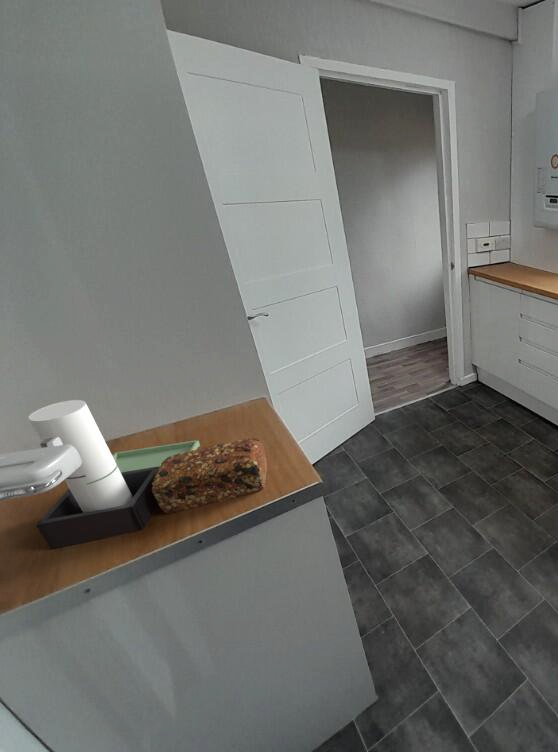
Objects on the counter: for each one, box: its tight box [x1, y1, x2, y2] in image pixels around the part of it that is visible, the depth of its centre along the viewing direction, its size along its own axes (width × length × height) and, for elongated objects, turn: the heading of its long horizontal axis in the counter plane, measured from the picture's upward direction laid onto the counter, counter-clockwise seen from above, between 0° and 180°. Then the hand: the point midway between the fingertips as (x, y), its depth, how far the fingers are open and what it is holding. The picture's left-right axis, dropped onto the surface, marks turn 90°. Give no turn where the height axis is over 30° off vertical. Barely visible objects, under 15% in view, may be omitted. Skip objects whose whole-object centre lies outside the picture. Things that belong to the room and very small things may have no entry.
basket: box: [35, 466, 160, 550], centre depth 82 cm, size 14×13×6 cm
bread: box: [152, 437, 268, 515], centre depth 88 cm, size 19×11×10 cm, turn 113°
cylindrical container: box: [27, 399, 134, 513], centre depth 78 cm, size 7×7×25 cm
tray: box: [112, 439, 201, 472], centre depth 96 cm, size 17×15×2 cm
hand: (15, 447), depth 63 cm, fingers open, 8 cm apart
